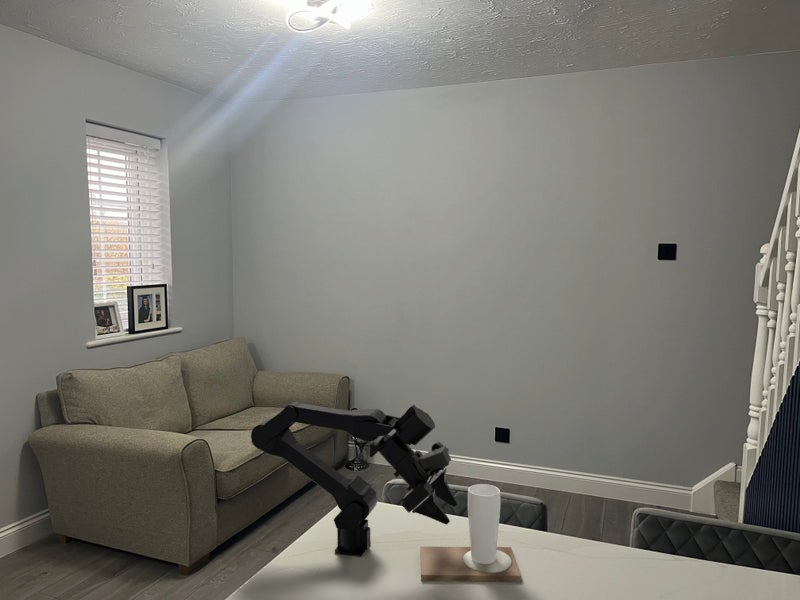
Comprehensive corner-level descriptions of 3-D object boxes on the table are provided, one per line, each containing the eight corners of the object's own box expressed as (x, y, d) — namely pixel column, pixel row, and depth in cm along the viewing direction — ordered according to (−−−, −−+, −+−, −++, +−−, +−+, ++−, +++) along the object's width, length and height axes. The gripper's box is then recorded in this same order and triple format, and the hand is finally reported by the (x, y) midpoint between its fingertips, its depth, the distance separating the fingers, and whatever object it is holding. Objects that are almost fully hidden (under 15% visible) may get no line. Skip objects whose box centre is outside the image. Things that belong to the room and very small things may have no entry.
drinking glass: (492, 570, 120) (492, 498, 119) (461, 562, 124) (462, 491, 123) (504, 556, 126) (505, 487, 125) (475, 548, 130) (475, 481, 129)
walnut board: (421, 580, 119) (421, 574, 119) (420, 551, 131) (420, 545, 131) (521, 581, 119) (521, 574, 119) (511, 552, 131) (511, 546, 131)
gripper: (418, 447, 118) (473, 508, 116) (436, 423, 136) (484, 475, 134) (379, 482, 120) (433, 542, 118) (403, 454, 138) (450, 505, 136)
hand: (452, 513), depth 126 cm, fingers open, 9 cm apart
